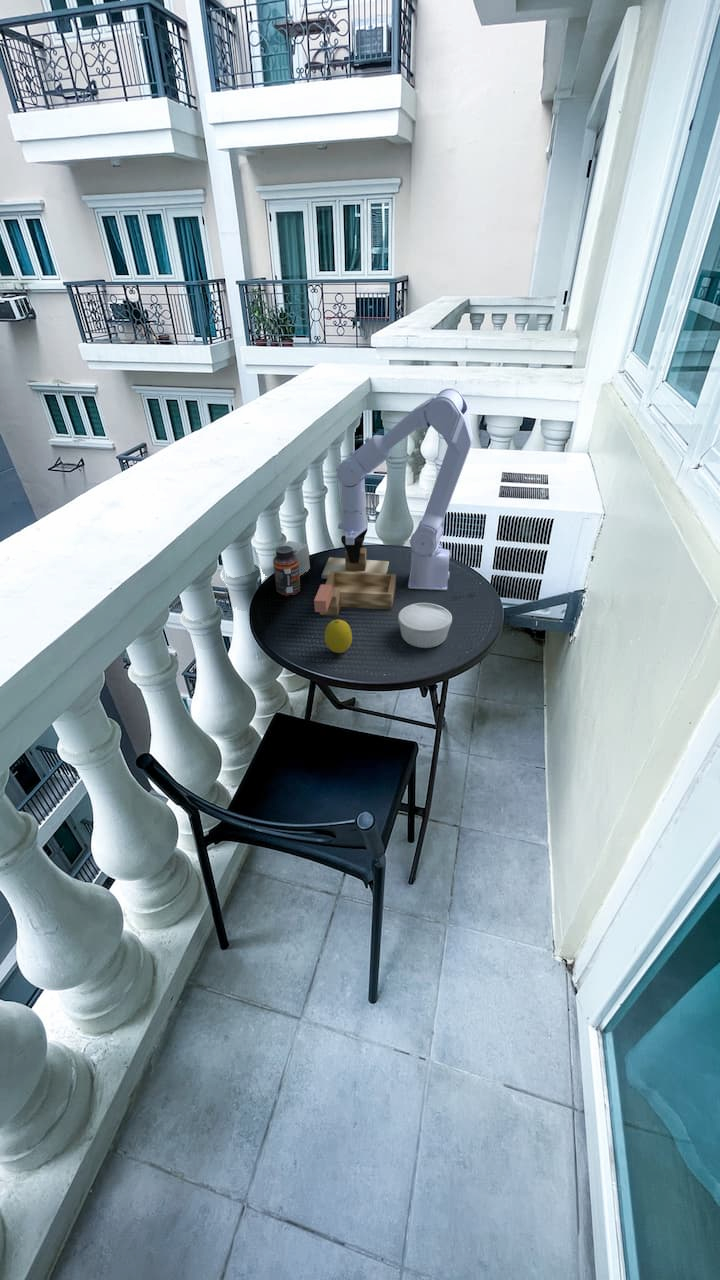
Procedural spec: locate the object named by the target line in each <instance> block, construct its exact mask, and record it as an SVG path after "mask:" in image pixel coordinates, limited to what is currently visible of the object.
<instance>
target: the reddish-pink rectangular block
mask: <svg viewBox="0 0 720 1280" xmlns="http://www.w3.org/2000/svg"><path fill="white" fill-rule="evenodd" d="M332 597H333V592H332V585H325V584H324V583H323V584H320V585H319V588H318V590H317V593H316V595H315V597H314V599H313V605H314V612H315V613H320V612H326V613H327V610H328V607H329V605H330V602H331V599H332Z"/></svg>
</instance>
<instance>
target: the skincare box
mask: <svg viewBox="0 0 720 1280" xmlns="http://www.w3.org/2000/svg"><path fill="white" fill-rule="evenodd" d="M281 546H290V547H292V548H293V554H294V555H295V556H296V557H297V558H298V566H299V577H300V576H301V575H303V574H304V573H305V572H306V573H307V572H309V569H310V570H311V565H310V553H309V545H308V544H306V543H301V542H296V541H291V540H287V542H285V543H284V544H282V545H281ZM306 573H305V574H306ZM305 574H304V575H305ZM304 575H303V576H304Z"/></svg>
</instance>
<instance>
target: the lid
mask: <svg viewBox="0 0 720 1280" xmlns="http://www.w3.org/2000/svg"><path fill="white" fill-rule="evenodd" d="M344 555H345V556H344V558H343V557H331V556H330V557H328V559H327V562H326V564H325V566H324V568H323V571H322V573H321V579H324V580H325V579H326V580H327V579H328V577H329V574H330V572H331V571H340V572H361V573H383V574H388V570H389V565H390V561H387V560H376V559H375V560H372V559H367V547H362V548H361V550H360V557H359V562H358V563H350V561H349V558H348V554H347V551H346V550H345V552H344Z"/></svg>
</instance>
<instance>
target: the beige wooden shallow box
mask: <svg viewBox="0 0 720 1280" xmlns="http://www.w3.org/2000/svg"><path fill="white" fill-rule="evenodd" d="M396 578H397V574H396V573H387V574H383V573H361V572H340V571H331V572H330V574H329V577H328V579H326V581H325V584H324V585H332V592H333V597H332V599H331V602H330V605H329V607H328V610H327V613H326V612H319V614H320V616H333V617H334V616H335V617H337V616H338V615H339V612H340V609H341V608H352V609H353V608H354V609H355V608H356V609H357V608H358V609H371V610H390V611H391V610H393V609H392V608H393V604H394V599H395V594H396V587H397V585H396V583H397V582H396V580H397V579H396Z"/></svg>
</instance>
